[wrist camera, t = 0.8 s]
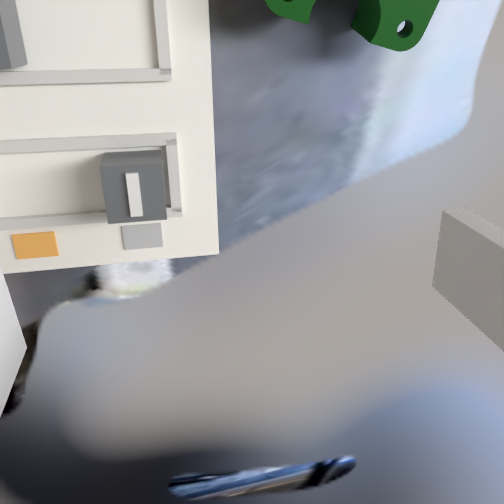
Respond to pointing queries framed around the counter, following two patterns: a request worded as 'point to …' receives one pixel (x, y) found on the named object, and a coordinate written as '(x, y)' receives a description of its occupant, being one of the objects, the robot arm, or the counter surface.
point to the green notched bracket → (373, 19)
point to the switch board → (105, 131)
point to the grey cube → (133, 186)
